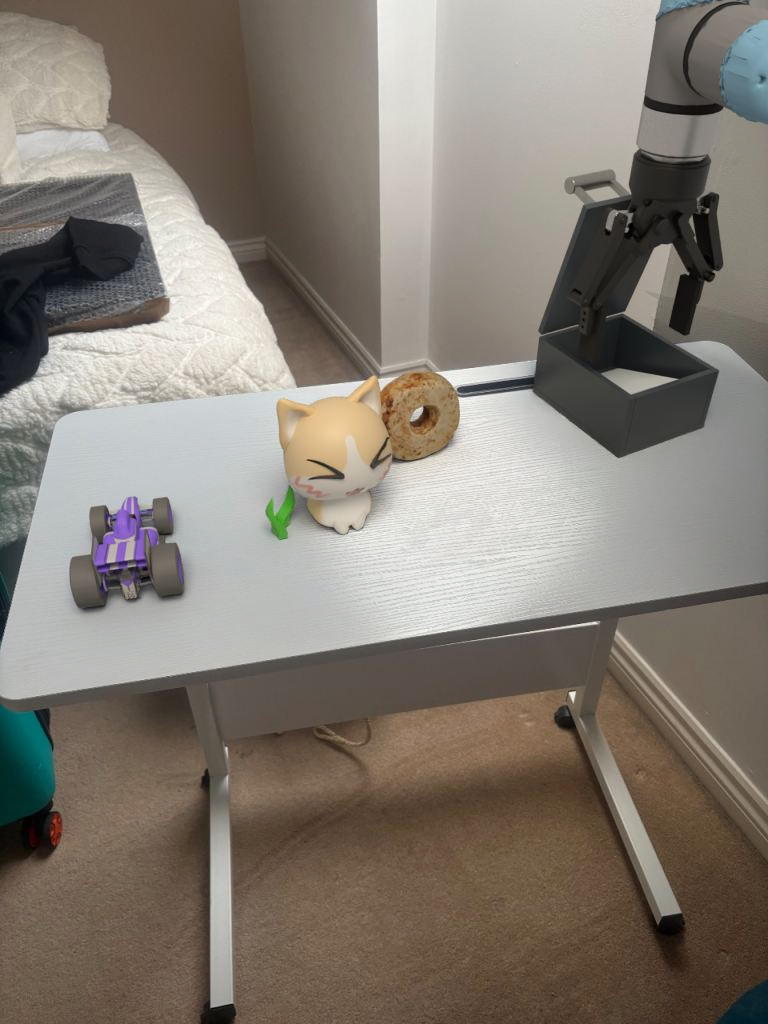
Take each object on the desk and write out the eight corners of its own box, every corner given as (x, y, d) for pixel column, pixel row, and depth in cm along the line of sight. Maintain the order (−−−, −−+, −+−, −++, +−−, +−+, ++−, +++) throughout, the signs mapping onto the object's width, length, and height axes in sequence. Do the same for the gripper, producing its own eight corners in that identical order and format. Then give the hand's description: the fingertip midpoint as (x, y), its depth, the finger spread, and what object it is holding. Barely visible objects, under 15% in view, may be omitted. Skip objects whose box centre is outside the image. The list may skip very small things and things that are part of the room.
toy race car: (182, 505, 89) (171, 455, 85) (185, 603, 77) (173, 551, 73) (90, 517, 87) (74, 467, 83) (79, 619, 76) (61, 567, 72)
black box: (703, 427, 99) (719, 370, 94) (618, 458, 95) (630, 399, 90) (612, 366, 111) (622, 312, 106) (532, 391, 106) (538, 336, 101)
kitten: (285, 567, 81) (271, 440, 72) (253, 509, 88) (236, 386, 79) (421, 524, 86) (424, 400, 77) (380, 472, 93) (378, 352, 84)
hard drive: (567, 382, 103) (633, 395, 92) (620, 367, 106) (691, 378, 95) (569, 395, 104) (634, 409, 93) (621, 380, 107) (691, 392, 96)
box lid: (681, 188, 91) (638, 148, 95) (587, 209, 87) (545, 166, 90) (625, 311, 105) (588, 272, 109) (541, 335, 101) (506, 293, 105)
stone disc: (383, 473, 93) (382, 396, 87) (369, 456, 95) (367, 380, 89) (463, 449, 96) (468, 374, 90) (448, 433, 99) (452, 359, 93)
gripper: (736, 125, 90) (691, 307, 103) (548, 160, 81) (527, 355, 94) (792, 143, 84) (737, 332, 98) (598, 182, 76) (568, 385, 89)
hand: (634, 344), depth 96 cm, fingers open, 13 cm apart
